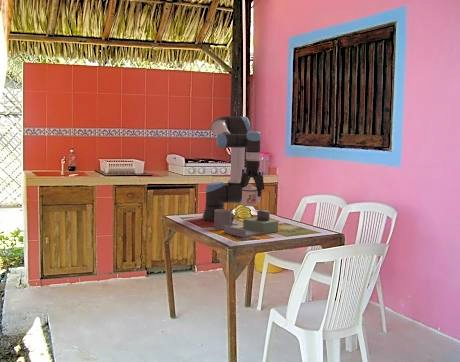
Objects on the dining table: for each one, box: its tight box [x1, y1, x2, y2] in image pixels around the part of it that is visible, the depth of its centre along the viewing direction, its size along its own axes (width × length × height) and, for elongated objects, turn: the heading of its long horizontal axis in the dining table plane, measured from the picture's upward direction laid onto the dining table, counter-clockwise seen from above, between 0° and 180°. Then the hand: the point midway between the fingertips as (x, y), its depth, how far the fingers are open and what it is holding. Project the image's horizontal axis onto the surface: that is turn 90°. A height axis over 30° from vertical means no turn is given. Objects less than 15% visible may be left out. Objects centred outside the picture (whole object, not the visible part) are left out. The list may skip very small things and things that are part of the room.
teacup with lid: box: [241, 183, 262, 207], centre depth 301 cm, size 12×9×12 cm
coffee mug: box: [213, 208, 235, 230], centre depth 322 cm, size 13×10×10 cm
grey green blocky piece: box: [223, 209, 279, 238], centre depth 310 cm, size 16×27×11 cm, turn 133°
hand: (251, 201), depth 301 cm, fingers closed on teacup with lid, 9 cm apart
